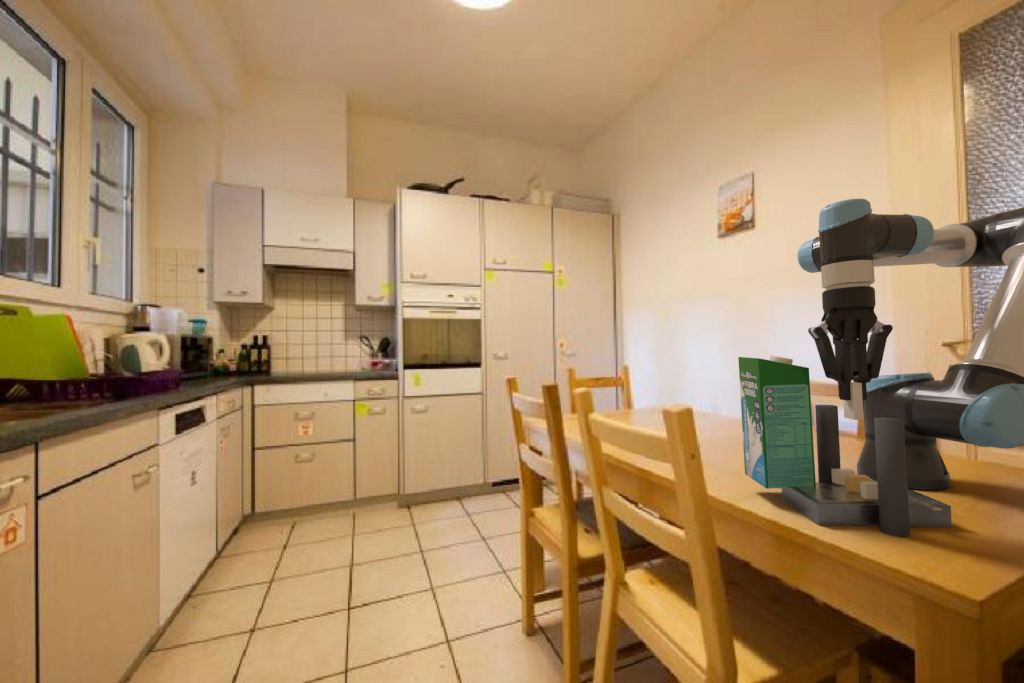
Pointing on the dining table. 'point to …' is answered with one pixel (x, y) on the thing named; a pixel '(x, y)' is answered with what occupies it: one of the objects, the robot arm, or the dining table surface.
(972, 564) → the dining table surface
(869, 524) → the breaker panel
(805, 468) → the milk carton
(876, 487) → the beige rectangular block
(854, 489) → the tan wooden block
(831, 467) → the post
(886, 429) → the post
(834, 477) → the grey small block
